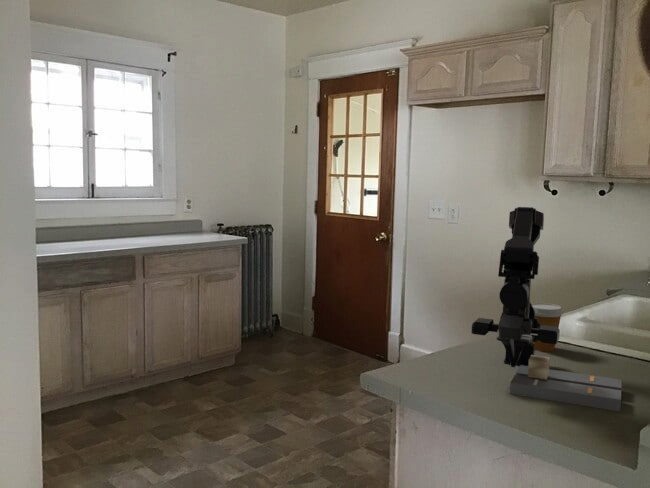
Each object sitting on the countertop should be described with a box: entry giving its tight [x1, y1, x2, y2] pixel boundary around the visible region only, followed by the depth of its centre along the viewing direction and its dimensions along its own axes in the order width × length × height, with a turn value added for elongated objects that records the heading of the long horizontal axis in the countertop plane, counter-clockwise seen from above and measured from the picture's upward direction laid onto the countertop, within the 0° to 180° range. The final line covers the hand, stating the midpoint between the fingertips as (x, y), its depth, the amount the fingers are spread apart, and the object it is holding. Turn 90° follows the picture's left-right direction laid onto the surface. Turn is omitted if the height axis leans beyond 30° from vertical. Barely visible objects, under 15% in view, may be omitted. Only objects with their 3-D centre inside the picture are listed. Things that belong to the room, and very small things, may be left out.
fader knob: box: [528, 354, 550, 380], centre depth 139 cm, size 4×4×6 cm
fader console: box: [509, 365, 623, 412], centre depth 137 cm, size 22×14×3 cm, turn 64°
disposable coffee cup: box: [530, 302, 564, 352], centre depth 171 cm, size 10×10×12 cm
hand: (513, 366), depth 142 cm, fingers closed
